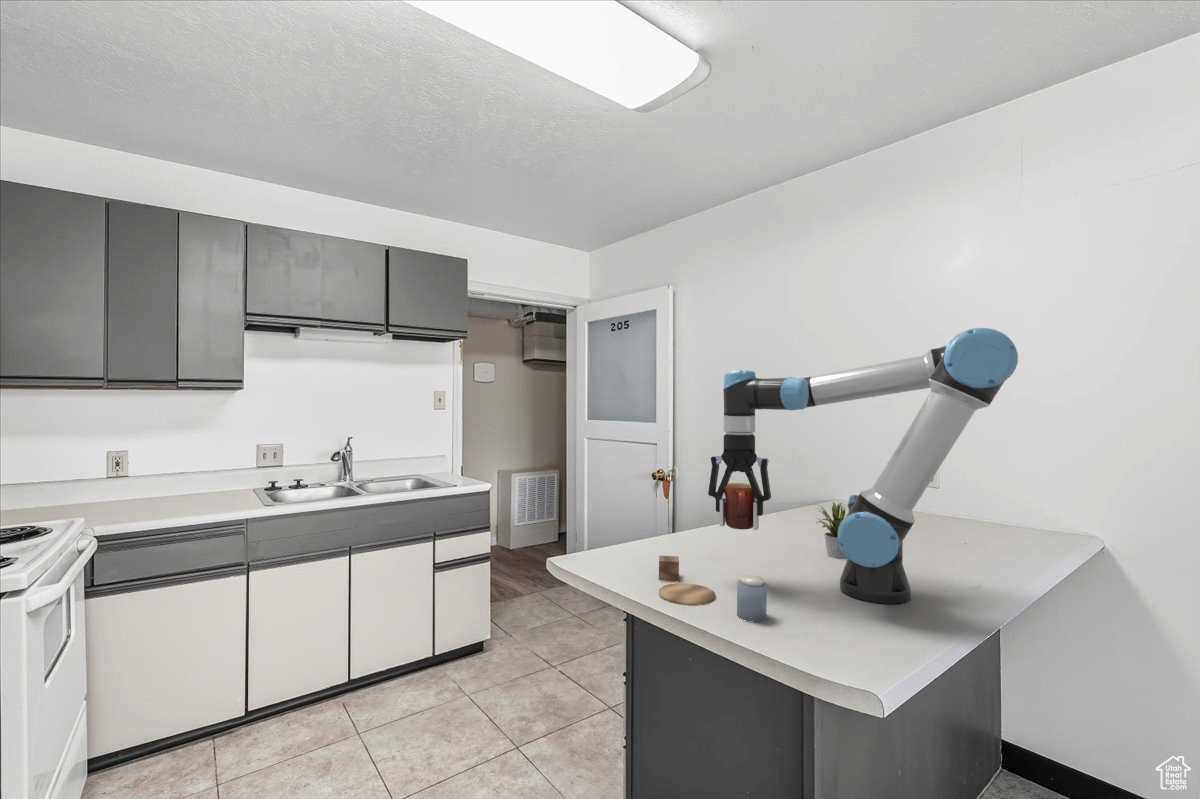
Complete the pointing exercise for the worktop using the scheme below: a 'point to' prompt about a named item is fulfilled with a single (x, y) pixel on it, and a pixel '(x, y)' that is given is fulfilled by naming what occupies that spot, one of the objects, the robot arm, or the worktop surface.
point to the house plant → (833, 531)
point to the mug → (739, 505)
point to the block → (669, 568)
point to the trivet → (686, 593)
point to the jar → (751, 598)
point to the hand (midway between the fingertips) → (739, 527)
